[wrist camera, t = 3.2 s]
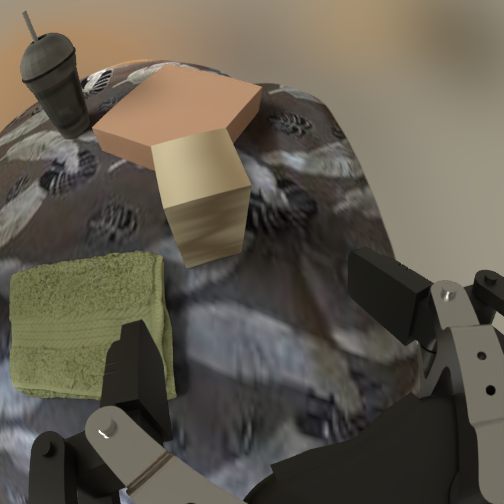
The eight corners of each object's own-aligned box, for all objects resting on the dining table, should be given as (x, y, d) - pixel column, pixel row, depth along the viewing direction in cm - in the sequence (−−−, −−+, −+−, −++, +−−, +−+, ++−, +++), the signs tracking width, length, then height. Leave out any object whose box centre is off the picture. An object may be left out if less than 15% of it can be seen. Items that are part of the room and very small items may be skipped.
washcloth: (186, 399, 20) (180, 405, 17) (25, 395, 17) (6, 395, 14) (167, 250, 24) (159, 235, 21) (21, 272, 22) (4, 262, 19)
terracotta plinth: (102, 150, 28) (91, 127, 24) (169, 86, 33) (166, 64, 29) (199, 190, 26) (196, 164, 23) (258, 111, 32) (262, 87, 28)
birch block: (186, 268, 23) (163, 209, 14) (173, 220, 25) (150, 146, 16) (241, 252, 24) (251, 185, 15) (224, 205, 26) (225, 127, 17)
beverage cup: (79, 148, 28) (23, 16, 9) (45, 145, 28) (-11, 34, 9) (108, 110, 31) (74, -14, 12) (73, 110, 31) (34, 3, 12)
